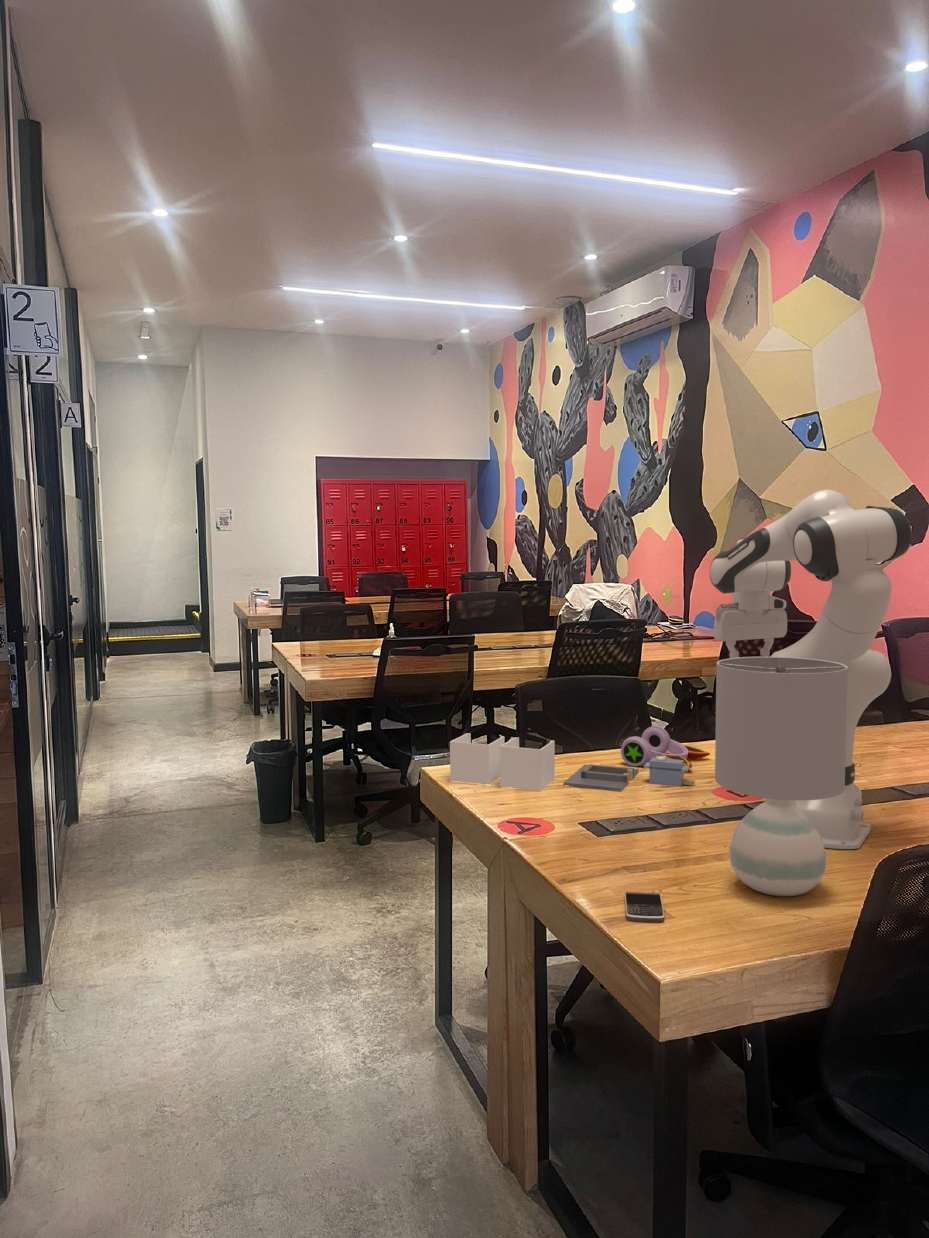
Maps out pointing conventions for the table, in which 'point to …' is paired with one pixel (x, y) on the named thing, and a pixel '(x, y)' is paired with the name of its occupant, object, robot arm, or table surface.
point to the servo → (668, 772)
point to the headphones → (657, 748)
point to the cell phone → (644, 907)
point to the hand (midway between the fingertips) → (749, 656)
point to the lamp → (780, 762)
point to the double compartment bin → (502, 763)
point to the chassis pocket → (602, 777)
